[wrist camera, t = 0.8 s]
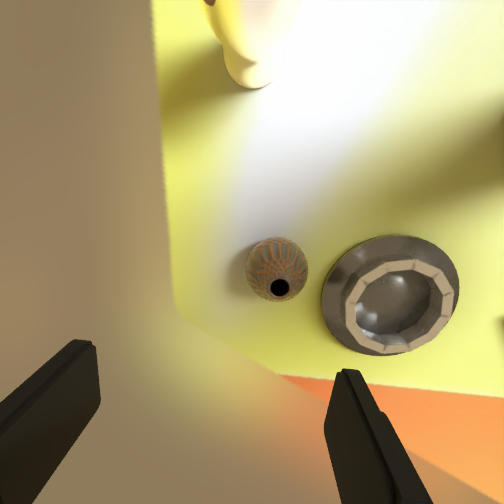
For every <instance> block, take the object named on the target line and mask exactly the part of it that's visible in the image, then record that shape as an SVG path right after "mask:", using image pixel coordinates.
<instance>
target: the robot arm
mask: <svg viewBox="0 0 504 504" xmlns="http://www.w3.org/2000/svg"><path fill="white" fill-rule="evenodd" d="M100 401H101V397H100V387H99V376H98V366H97V355H96V347H95V346H94V345H92V342H91V341H86V340H77V339H75V340H72V341H71V342H69V343H68V344H67V345H66V346H65V347H64V348H62V349H61V350H60V351H59V352H58V353H57V354H56V355H55V356H53V357H52V358H51V359H50V360H49V361H48V362H46V363H45V364H44V365H43V366H42V367H41V368H39V369H38V370H37V371H36V372H35V373H34V374H33V375H31V376H30V377H29V378H28V379H27V380H26V381H25V382H23V383H22V384H21V385H20V386H19V387H18V388H16V389H15V390H14V391H13V392H12V393H11V394H10V395H8V396H7V397H6V398H5V399H4V400H3V401H2V402H0V504H32V503H33V502H34V500H35V499H36V497H37V496H38V494H39V493H40V492H41V490H42V489H43V487H44V486H45V484H46V483H47V481H48V480H49V479H50V477H51V476H52V474H53V473H54V471H55V470H56V468H57V467H58V466H59V464H60V463H61V461H62V460H63V458H64V457H65V455H66V454H67V453H68V451H69V450H70V448H71V447H72V446H73V444H74V443H75V441H76V440H77V438H78V437H79V436H80V434H81V433H82V431H83V430H84V428H85V427H86V425H87V424H88V423H89V421H90V420H91V418H92V417H93V415H94V414H95V413H96V411H97V409H98V408H99V405H100ZM324 434H325V438H326V443H327V447H328V451H329V455H330V459H331V463H332V467H333V471H334V475H335V479H336V482H337V487H338V491H339V495H340V499H341V503H342V504H433V502H432V500H431V498H430V496H429V494H428V492H427V490H426V489H425V487H424V485H423V483H422V481H421V479H420V477H419V475H418V474H417V472H416V470H415V468H414V466H413V464H412V462H411V460H410V458H409V457H408V455H407V453H406V451H405V449H404V447H403V445H402V443H401V441H400V439H399V438H398V436H397V434H396V432H395V430H394V428H393V426H392V424H391V422H390V421H389V419H388V417H387V416H386V414H385V413H383V412H381V411H380V410H379V408H378V406H377V404H376V402H375V400H374V398H373V396H372V394H371V392H370V390H369V388H368V386H367V384H366V382H365V380H364V378H363V376H362V374H361V373H360V371H359V370H354V369H342V371H341V372H337V374H336V378H335V382H334V386H333V390H332V394H331V398H330V402H329V406H328V410H327V414H326V418H325V422H324Z"/></svg>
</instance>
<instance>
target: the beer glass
mask: <svg viewBox="0 0 504 504" xmlns="http://www.w3.org/2000/svg"><path fill="white" fill-rule="evenodd" d="M300 2H301V0H198V3H199V5H200V8H201V10H202V13H203V15H204V17H205V19H206V21H207V23H208V25H209V27H210V28H211V30H212V32H213V33H214V35H215V36H216V38H217V39H218V41H219V42H220V43H221V45H222V46H223V47H224V61H225V65H226V68H227V70H228V72H229V74H230V76H231V77H232V78H233V79H234V80H235V81H236V82H237V83H238V84H240V85H241V86H243V87H246V88H251V89H255V88H261V87H263V86H266V85H267V84H269V83H270V82H271V81H272V80H273V79H274V78H275V77H276V76H277V74H278V73H279V71H280V69H281V66H282V63H283V58H284V45H283V41H284V39H285V37H286V35H287V34H288V32H289V30H290V28H291V26H292V23H293V21H294V19H295V16H296V14H297V12H298V9H299V6H300Z"/></svg>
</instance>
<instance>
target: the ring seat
mask: <svg viewBox="0 0 504 504" xmlns="http://www.w3.org/2000/svg"><path fill="white" fill-rule="evenodd" d="M458 296H459V278H458V275H457V271H456V269H455V267H454V264H453V263H452V261H451V260H450V258H449V257H448V256H447V255H446V254H445V253H444V252H443V251H442V250H441V249H440V248H438V247H437V246H436V245H434V244H432V243H430V242H428V241H425V240H423V239H420V238H417V237H414V236H409V235H399V234H396V235H385V236H379V237H376V238H372V239H369V240H367V241H365V242H362V243H360V244H358V245H357V246H355V247H353V248H352V249H350V250H349V251H348V252H346V253H345V254H344V255H343V256H342V257H341V258H340V259H339V260H338V261H337V262H336V263H335V265H334V266H333V267H332V269H331V270H330V272H329V273H328V275H327V278H326V280H325V282H324V285H323V288H322V294H321V309H322V314H323V317H324V320H325V322H326V324H327V326H328V328H329V330H330V331H331V333H332V334H333V335H334V337H335V338H336V339H337V340H338V341H339V342H341V343H342V344H343V345H345V346H346V347H348V348H350V349H352V350H354V351H356V352H359V353H362V354H367V355H373V356H390V355H397V354H401V353H405V352H409V351H412V350H414V349H416V348H418V347H420V346H421V345H423V344H425V343H427V342H429V341H431V340H433V339H434V338H435V337H436V336H437V335H438V334H439V332H440V331H441V330H442V329H443V327H444V326H445V325H446V324H447V322H448V321H449V319H450V318H451V316H452V314H453V312H454V310H455V307H456V305H457V301H458Z"/></svg>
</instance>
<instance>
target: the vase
mask: <svg viewBox="0 0 504 504" xmlns="http://www.w3.org/2000/svg"><path fill="white" fill-rule="evenodd" d="M246 275H247V279H248V282H249V284H250V286H251V287H252V289H253V290H254V291H255V292H256V293H257V294H258V295H259V296H260V297H262V298H264V299H266V300H269V301H274V302H281V301H286V300H289V299H291V298H293V297H294V296H296V295H297V294H298V293H299V292H300V291H301V290H302V288H303V287H304V285H305V282H306V279H307V275H308V265H307V261H306V258H305V256H304V254H303V252H302V251H301V249H300V248H299V247H298V246H297V245H296V244H295V243H293V242H291V241H290V240H287V239H284V238H278V237H274V238H268V239H265V240H263V241H261V242H260V243H258V244H257V245H256V246H255V247H254V248H253V249H252V251H251V252H250V254H249V256H248V259H247V263H246Z"/></svg>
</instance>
